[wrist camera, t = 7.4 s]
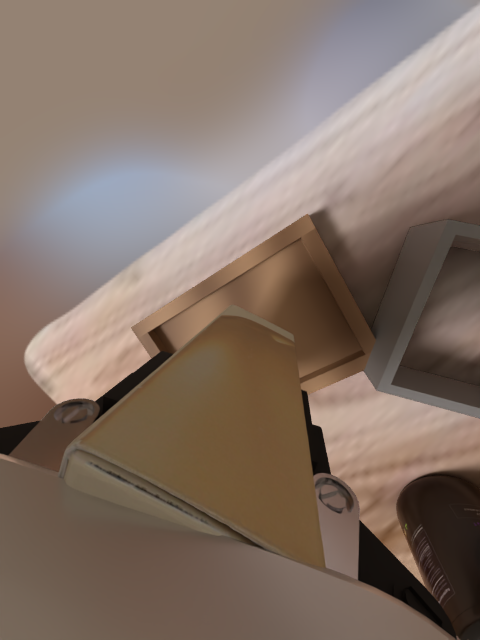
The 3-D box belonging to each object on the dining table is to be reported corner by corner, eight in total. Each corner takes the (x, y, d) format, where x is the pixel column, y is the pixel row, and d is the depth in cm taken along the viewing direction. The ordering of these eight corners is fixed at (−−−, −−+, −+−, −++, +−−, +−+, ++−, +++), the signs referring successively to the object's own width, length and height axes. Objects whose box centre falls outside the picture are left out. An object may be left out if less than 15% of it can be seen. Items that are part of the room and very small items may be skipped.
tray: (306, 216, 17) (307, 213, 16) (379, 352, 18) (387, 360, 17) (140, 323, 21) (130, 327, 20) (210, 427, 23) (206, 438, 21)
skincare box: (252, 412, 17) (179, 777, 5) (193, 383, 17) (-7, 669, 5) (298, 329, 15) (350, 606, 3) (231, 297, 15) (50, 448, 3)
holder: (579, 261, 15) (677, 263, 11) (498, 399, 18) (555, 439, 14) (409, 227, 16) (448, 219, 12) (358, 362, 19) (376, 390, 15)
